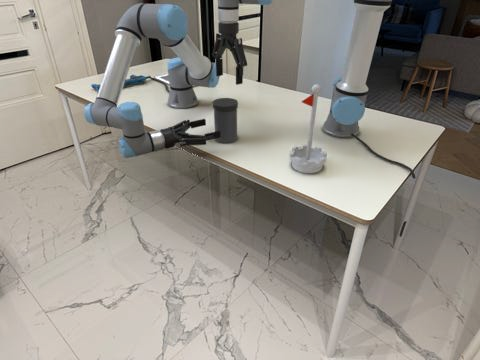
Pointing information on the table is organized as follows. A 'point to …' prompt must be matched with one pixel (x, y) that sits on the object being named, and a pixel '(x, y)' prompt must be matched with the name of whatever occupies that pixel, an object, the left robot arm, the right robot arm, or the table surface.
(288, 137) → the table surface
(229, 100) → the lid
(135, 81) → the submachine gun
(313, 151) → the flag stand
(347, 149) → the table surface
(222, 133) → the jar
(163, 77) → the tablet
